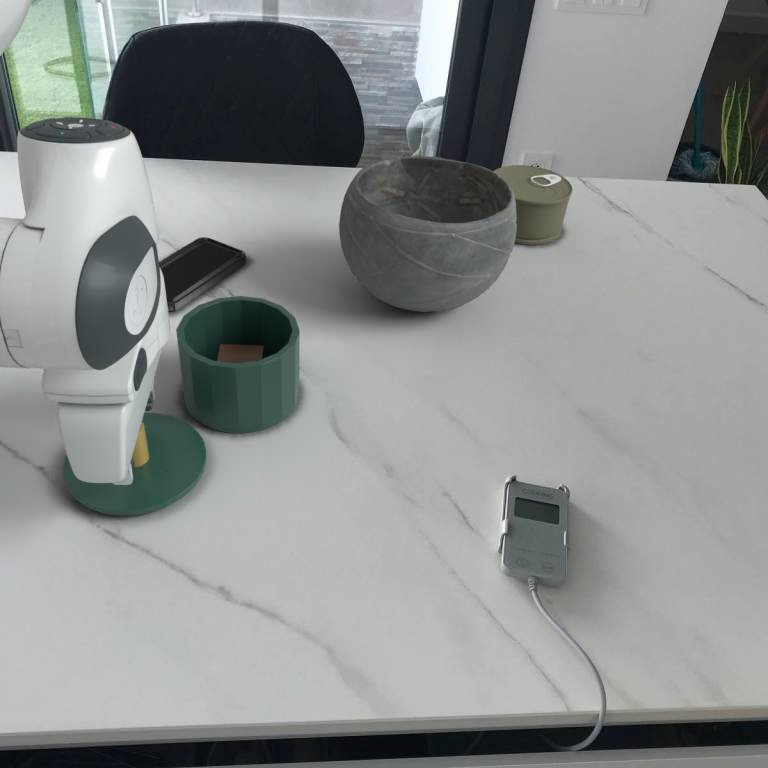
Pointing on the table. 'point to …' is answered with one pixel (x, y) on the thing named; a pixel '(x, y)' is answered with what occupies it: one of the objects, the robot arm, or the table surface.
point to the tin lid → (148, 470)
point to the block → (240, 353)
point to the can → (537, 202)
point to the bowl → (427, 231)
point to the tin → (239, 364)
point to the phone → (197, 269)
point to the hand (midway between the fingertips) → (134, 440)
